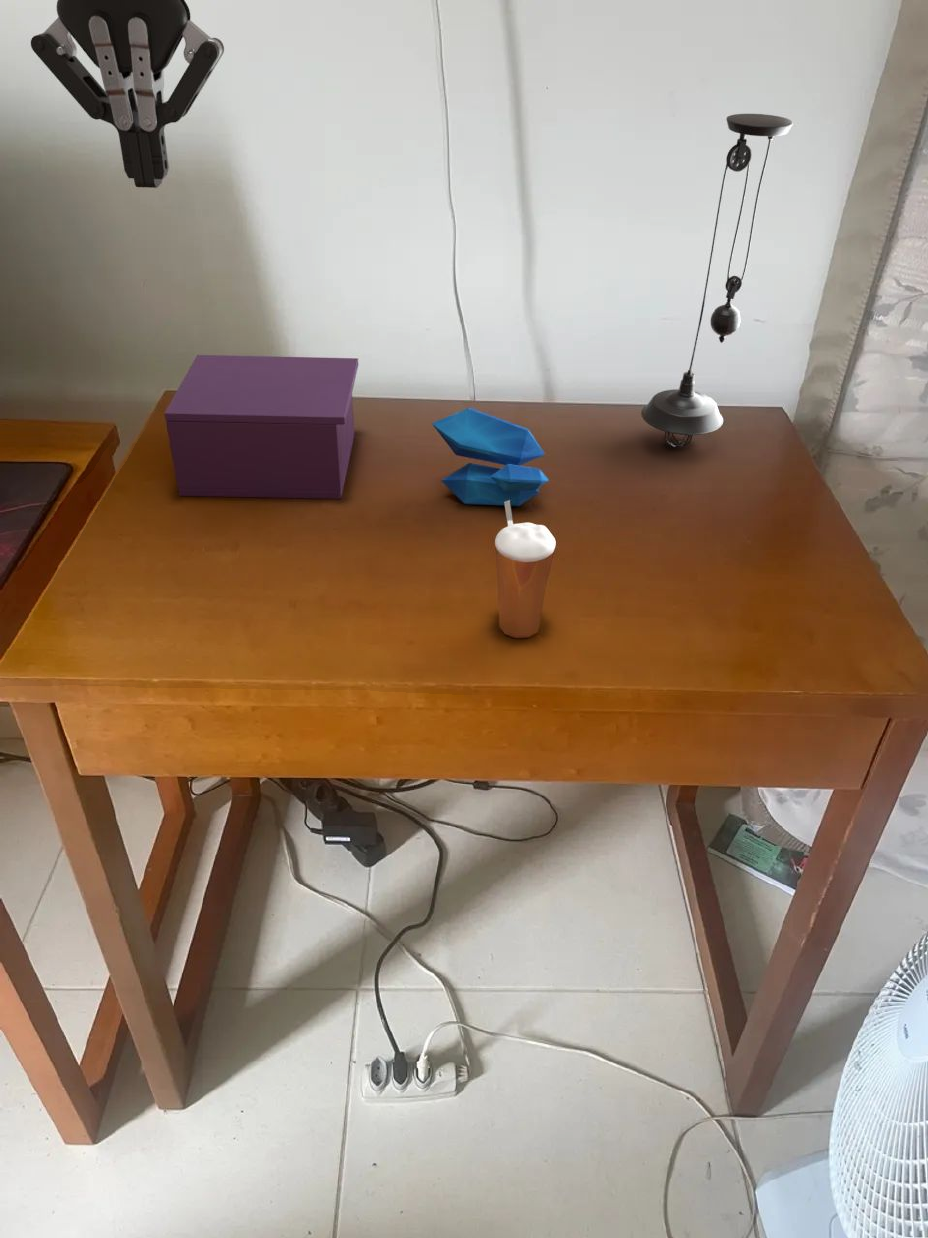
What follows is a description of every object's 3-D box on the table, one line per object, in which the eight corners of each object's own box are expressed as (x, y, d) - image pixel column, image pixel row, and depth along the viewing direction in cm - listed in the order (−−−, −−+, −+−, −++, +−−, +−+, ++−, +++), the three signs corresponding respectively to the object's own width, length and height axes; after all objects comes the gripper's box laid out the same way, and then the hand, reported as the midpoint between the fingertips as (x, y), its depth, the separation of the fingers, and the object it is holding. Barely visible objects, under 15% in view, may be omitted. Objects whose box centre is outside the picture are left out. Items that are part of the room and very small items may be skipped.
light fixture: (706, 422, 109) (764, 109, 90) (743, 457, 103) (814, 128, 84) (624, 431, 107) (667, 112, 88) (657, 468, 101) (710, 132, 82)
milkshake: (525, 598, 82) (532, 494, 76) (558, 634, 78) (568, 528, 72) (476, 612, 80) (480, 507, 74) (507, 650, 77) (514, 542, 71)
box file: (354, 434, 105) (350, 365, 101) (341, 499, 94) (336, 424, 90) (208, 431, 105) (198, 362, 100) (178, 495, 94) (165, 421, 90)
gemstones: (561, 456, 88) (431, 420, 87) (533, 535, 93) (410, 502, 92) (562, 419, 94) (441, 385, 93) (536, 495, 99) (421, 464, 98)
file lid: (358, 365, 101) (358, 357, 100) (345, 425, 90) (344, 416, 89) (198, 361, 100) (197, 354, 100) (165, 421, 90) (163, 412, 89)
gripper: (-26, -117, 58) (40, 194, 68) (199, -108, 58) (231, 201, 69) (20, -116, 64) (74, 170, 74) (223, -107, 64) (249, 176, 75)
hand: (149, 184), depth 71 cm, fingers closed
